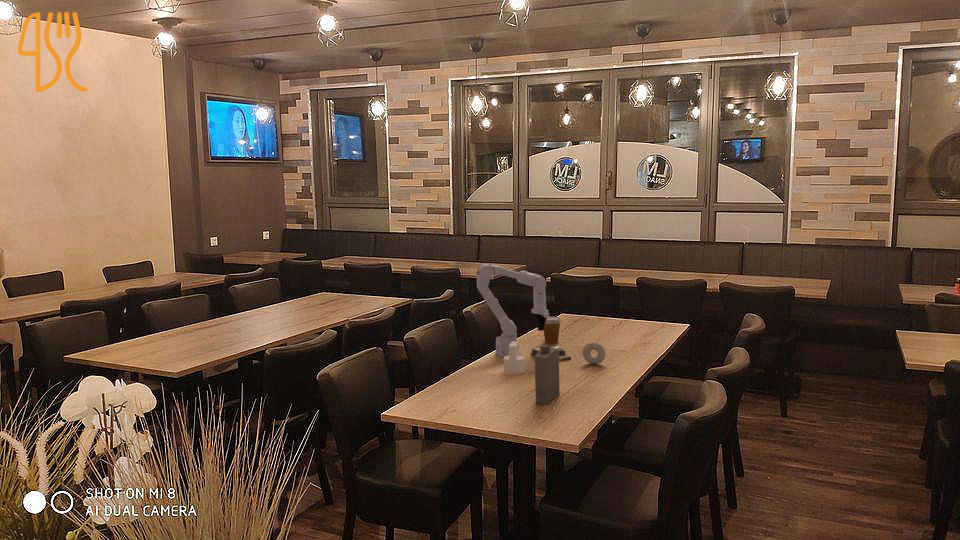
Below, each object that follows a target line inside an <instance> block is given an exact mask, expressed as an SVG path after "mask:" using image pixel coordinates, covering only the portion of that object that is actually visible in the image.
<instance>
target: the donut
mask: <svg viewBox="0 0 960 540" xmlns="http://www.w3.org/2000/svg"><path fill="white" fill-rule="evenodd" d="M592 350H593V351H596V352H597V355H596V356H594V355H592V354H591V351H592ZM582 356H583V358H584V360H585V361H586V362H587V363H589V364H590V365H598V364H601V363H602V362H604V360H605V358H606V350H605V347H604V346H603V345H602V344H601V343H599V342H597V341H590V342H588V343H586V344H585V345H584V347H583V348H582Z"/></svg>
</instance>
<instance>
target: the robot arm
mask: <svg viewBox="0 0 960 540" xmlns="http://www.w3.org/2000/svg"><path fill="white" fill-rule="evenodd" d="M497 276H505V277H509V278H512V279H516V280H517V283H519V284H523V285H526V286H529V287H533V290H532V291H533V293H532V295H533V296H532V297H533V300H532V301H533V308H531V314H534V315H532V319H534V321H535V325H536V327H537V328H536V329H537V330H538V331H539V332H541V331H543V332H544V325H545V322H546V319H547V318H548V317H550V313H549V310H548V309H547V296H546V295H547V294H546V287H547V281H546V280H547V279H545V277H543V276H542V275H539V274H538V273H532V272H528V270H526V269H524V270H520V271H515V270H512V269H510V268H506V267H504V266H501V265H496V264H489V263H486V262H483V263H481V264H480V265H479V266H478V268H477V271H476V289H477V290H478V291H479V293H480V294H481V296H482V297H483V299H484V301H485V302H486V304H487V305H488V307H489V308H490V310H491V312H492V313H493V314H494V316H495V317H496V318H497V320H498V322H499V323H500V328H501V331H502V332H501V335H500V336H497V337H496V339H495V354H496V355H498V356H499V357H502V358H504V357H505V356H508V355H509V345H510V343H511V342H512V341H518V335H517V331H518V330H517V329H518V327H517V325H516V324H515V323H514V321H513V320H512V319H510V318H509V317H508V316H507V313H506V312H505V311H504V309H503V307H501V305H500V304H499V301H498V300H497V299H496V297H495V295H494V294H493V292H492V291H491V289H490V288H489V284H490V281H491V279H492V278H493V277H497ZM519 355H521V353H520V352H519Z"/></svg>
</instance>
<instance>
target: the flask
mask: <svg viewBox="0 0 960 540" xmlns="http://www.w3.org/2000/svg"><path fill="white" fill-rule="evenodd" d="M539 348H540V350H541V351H540V352H538V353H537V354H536V355H535V358H534V377H535V378H534V380H535V381H534V382H535V387H534V388H535V389H534V390H535V391H534V392H535V403H536V404H537V405H539V404H542V405H541V406H545V404H546V405H549V404H550V402H551V401H552V400H553V399H555V398H557V397H559V396H560V394H561V393H560V392H561V391H560V361H559V350H558V349H555V348H551V346H550V345H549V344H544V345H543V344H542V345H541V346H540V347H539ZM556 396H557V397H556ZM554 397H555V398H554ZM548 403H549V404H548Z"/></svg>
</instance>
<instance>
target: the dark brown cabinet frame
mask: <svg viewBox="0 0 960 540" xmlns="http://www.w3.org/2000/svg"><path fill="white" fill-rule="evenodd" d="M534 349H535V348H532V349H531V353H529V354H530V355H531V356H530V357H532V356H533V358H534V359H535V355H536V354H537V353H538V352H540V351H536V350H534ZM570 360H572V357H571V356H570V355H568V354H567V353H566V350H564V349H563V351H559V362H562V361H563V362H565V361H570Z"/></svg>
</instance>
